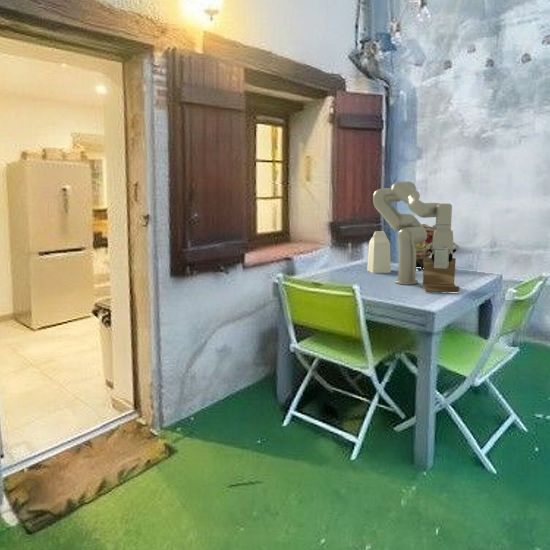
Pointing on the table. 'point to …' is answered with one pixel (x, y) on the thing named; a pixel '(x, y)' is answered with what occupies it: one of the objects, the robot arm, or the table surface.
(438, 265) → the light bulb box
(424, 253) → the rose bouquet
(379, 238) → the milk
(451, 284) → the cleat board
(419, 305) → the table surface
